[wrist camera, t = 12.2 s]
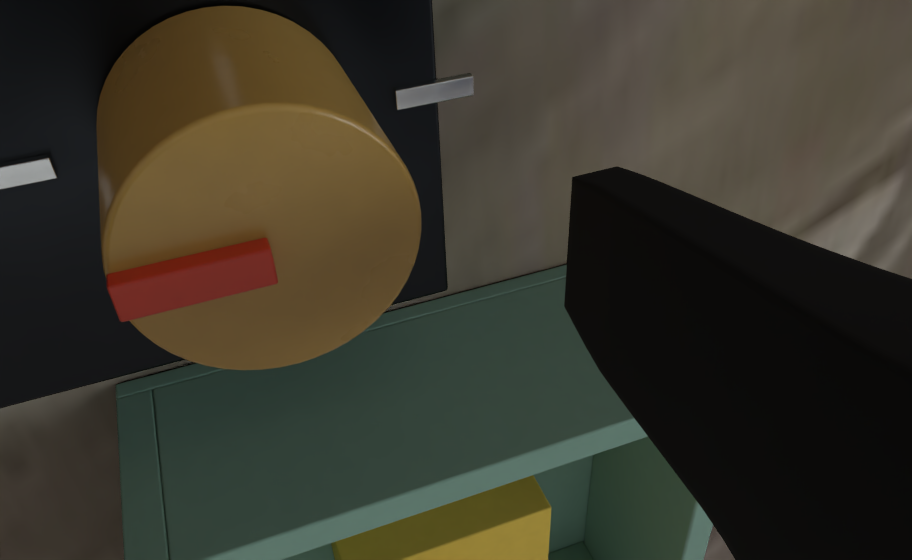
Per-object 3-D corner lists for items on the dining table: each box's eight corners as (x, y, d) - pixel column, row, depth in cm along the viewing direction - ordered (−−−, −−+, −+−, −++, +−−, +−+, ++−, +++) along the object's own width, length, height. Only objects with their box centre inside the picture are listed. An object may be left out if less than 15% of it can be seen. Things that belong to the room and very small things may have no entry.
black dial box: (398, -242, 13) (466, -221, 11) (429, 211, 19) (478, 288, 17) (-457, -171, 10) (-613, -122, 8) (-120, 340, 16) (-154, 456, 14)
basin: (630, 246, 22) (755, 379, 18) (594, 534, 30) (674, 669, 26) (114, 384, 19) (125, 587, 14) (236, 665, 27) (263, 843, 23)
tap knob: (339, -16, 12) (421, 85, 9) (367, 206, 15) (438, 341, 12) (57, 28, 11) (49, 158, 8) (138, 259, 14) (155, 421, 11)
